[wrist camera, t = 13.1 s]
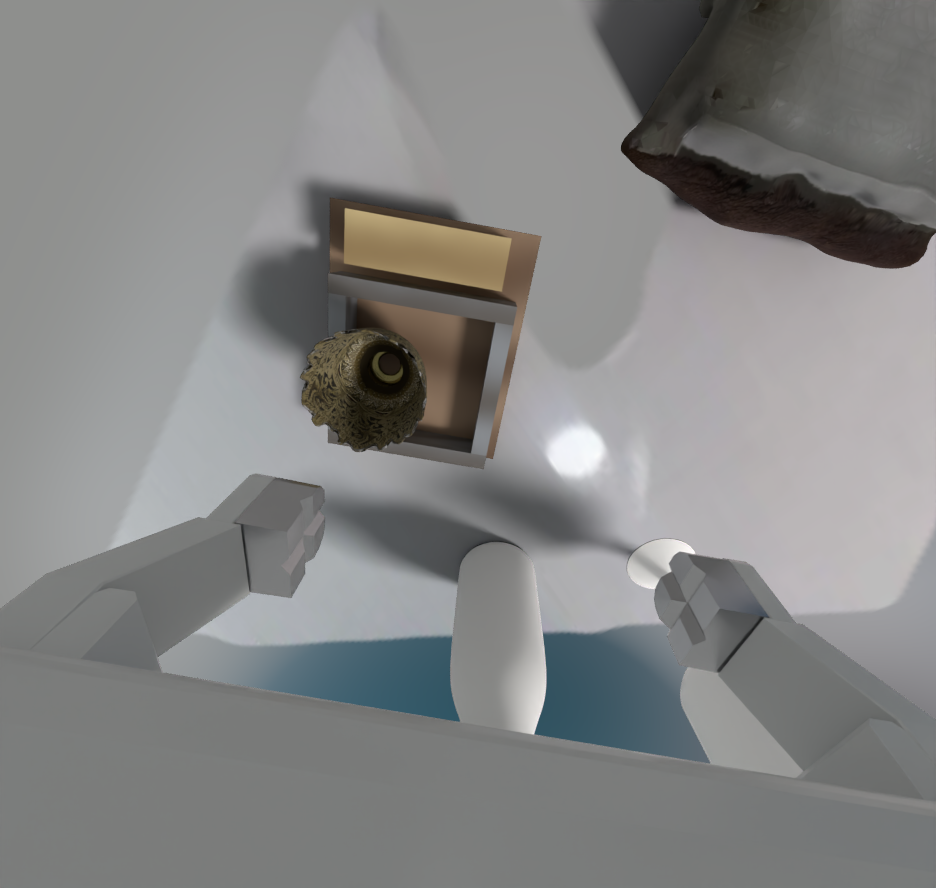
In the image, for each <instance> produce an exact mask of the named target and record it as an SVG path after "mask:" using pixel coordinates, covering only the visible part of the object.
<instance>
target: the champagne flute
mask: <svg viewBox="0 0 936 888" xmlns="http://www.w3.org/2000/svg"><path fill="white" fill-rule="evenodd" d="M679 551H680V552H686V553H692V554H695V552H694V550H693V549H692V548H691V547H690V546H689V545H688V544H686V543H684V542H682V541H679V540H676V539H659V540H654V541H651V542H648V543H646V544H644V545H642V546H641V547H639V548H638V549H637V550H636V551H635V552H634V553H633V554H632V555H631V557H630V558H629V561H628V564H627V571H628V575H629V577H630V578H631V579H632V580H633V582H635V583H636V584H638V585H640V586H642V587H645V588H650V589H655V588H656V586H657V584H658V582H659V580H660V578H661V577H662V576H664V575H666V574H668V573H669V572H671V569H670V566H669V562H670V561H671V559H672V557H673V556H674V555H675V554H676V553H678V552H679ZM718 674H719V673H715V672H710V671H705V670H700V669H695V668H690V667H688V668H687V669H686V672H685V673H684V676H683V680H682V684H681V691H680V698H681V704H682V707H683V710H684V711H685V713H686V715H687V717H688V719H689V721H690V723H691V725H692V727H693V729H694V731H695V733H696V735H697V737H698V739H699V741H700V743H701V745H702V747H703V749H704V751H705V753H706V755H707V756H708V759H709V761H710V763H711V764H714V765H720V766H726V767H732V768H738V769H744V770H750V771H756V772H762V773H768V774H774V775H780V776H786V777H792V778H796V777H797V776H799V775H800V774H801V773H802V772H804V771H803V770H802V769H801V768H800V767H799V766H798V765H797V764H796V762H795V761H794V760H793V759H792V758H791V757H790V756H789V755H788V753H787V752H786V751H785V750H784V749H783V748H782V747H781V746H780V744H779V743H778V742H777V741H776V740H775V739H774V738H773V737H772V735H771V734H770V733H769V732H768V731H767V730H766V729H765V728H764V726H763V725H762V724H761V723H760V722H759V721H758V720H757V719H756V718H755V716H754V715H753V714H752V713H751V712H750V711H749V710H748V709H747V707H746V706H745V705H744V704H743V703H742V702H741V701H740V700H739V698H738V697H737V696H736V695H735V694H734V693H733V692H732V691H731V689H730V688H729V687H728V686H727V685H726V684H725V683H724V682H723V680H722V679H721V678H720V677H719V676H718Z"/></svg>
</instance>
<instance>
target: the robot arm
mask: <svg viewBox="0 0 936 888" xmlns="http://www.w3.org/2000/svg"><path fill="white" fill-rule="evenodd" d="M324 502H325V492H324V489H323V488H322V486H317V485H312V484H307V483H302V482H297V481H293V480H288V479H283V478H276V477H272V476H266V475H261V474H253V475H250V476H249V477H248V478H247V479H246V480H245V481H244V482H242V483H241V484H240V485H239V486H238V487H237V488H236V489H235V490H234V491H233V492H232V493H231V494H230V495H229V496H228V497H227V498H226V499H225V500H224V501H223V502H222V503H221V504H220V505H219V506H218V507H217V508H216V509H215V510H214V511H213V512H212V513H211V514H210V515H209V516H208V517H207V518H200V517H198V518H195V519H192V520H190V521H187V522H184V523H182V524H179V525H176V526H174V527H171V528H168V529H165V530H163V531H160V532H157V533H155V534H152V535H149V536H147V537H144V538H141V539H139V540H136V541H133V542H130V543H128V544H125V545H122V546H120V547H117V548H114V549H112V550H109V551H106V552H104V553H101V554H98V555H96V556H93V557H90V558H88V559H85V560H82V561H79V562H77V563H74V564H71V565H69V566H66V567H63V568H60V569H58V570H55V571H53V572H50V573H47V574H45V575H44V576H43V577H41V578H40V579H39V580H37V581H36V582H35V583H33V584H32V585H31V586H29V587H28V588H27V589H25V590H24V591H23V592H21V593H20V594H19V595H17V596H16V597H15V598H14V599H12V600H11V601H9V602H8V603H7V604H6V605H4V606H3V607H2V608H0V888H936V719H935V718H933V717H932V716H930V715H929V714H928V713H926V712H925V711H923V710H922V709H920V708H919V707H918V706H916V705H915V704H914V703H912V702H911V701H909V700H908V699H907V698H905V697H904V696H902V695H901V694H900V693H898V692H897V691H895V690H894V689H893V688H891V687H890V686H888V685H887V684H886V683H884V682H883V681H881V680H880V679H878V678H877V677H876V676H875V675H873V674H872V673H870V672H869V671H868V670H866V669H865V668H863V667H862V666H861V665H859V664H858V663H856V662H855V661H854V660H852V659H851V658H849V657H848V656H847V655H845V654H844V653H842V652H841V651H840V650H838V649H837V648H835V647H834V646H833V645H831V644H830V643H828V642H827V641H826V640H824V639H823V638H822V637H820V636H819V635H817V634H816V633H815V632H813V631H812V630H810V629H809V628H808V627H806V626H805V625H803V624H797V623H796V622H795V621H794V620H793V618H792V617H791V616H790V614H789V613H788V612H787V610H786V609H785V608H784V607H783V605H782V604H781V603H780V601H779V600H778V599H777V597H776V596H775V595H774V593H773V592H772V591H771V590H770V588H769V587H768V586H767V584H766V583H765V582H764V580H763V579H762V578H761V577H760V575H759V574H758V573H757V571H756V570H755V569H754V567H753V566H751V565H750V564H748V563H747V562H743V561H737V560H730V559H724V558H723V559H720V558H714V557H709V556H703V555H697V554H692V553H686V552H680V551H679V552H678V553H676V554H675V555H674V556H673V557H672V559H671V561H670V562H669V566H670V569H671V572H669V573H668V574H666V575H664V576H662V577H661V578H660V580H659V582H658V584H657V586H656V588H655V596H654V602H655V608H656V611H657V614H658V616H659V619H660V620H661V621H662V622H663V623H664V624H665V625H666V626H667V627H669V628H670V630H669V633H668V635H667V638H668V640H669V643H670V645H671V647H672V650H673V652H674V654H675V656H676V659H677V661H678V664H679V665H681V666H685V667H690V668H695V669H700V670H705V671H710V672H715V673H719V674H718V676H719V677H720V678H721V679H722V680H723V682H724V683H725V684H726V685H727V686H728V687H729V688H730V689H731V691H732V692H733V693H734V694H735V695H736V696H737V697H738V698H739V700H740V701H741V702H742V703H743V704H744V705H745V706H746V707H747V709H748V710H749V711H750V712H751V713H752V714H753V715H754V716H755V718H756V719H757V720H758V721H759V722H760V723H761V724H762V725H763V726H764V728H765V729H766V730H767V731H768V732H769V733H770V734H771V735H772V737H773V738H774V739H775V740H776V741H777V742H778V743H779V744H780V746H781V747H782V748H783V749H784V750H785V751H786V752H787V753H788V755H789V756H790V757H791V758H792V759H793V760H794V761H795V762H796V764H797V765H798V766H799V767H800V768H801V769H802V770H803V771H804V772H802V773H801V774H800V775H799V776H797V777H796V778H792V777H786V776H780V775H774V774H768V773H762V772H756V771H750V770H744V769H738V768H732V767H726V766H720V765H714V764H708V763H702V762H696V761H690V760H684V759H678V758H671V757H666V756H660V755H654V754H648V753H642V752H636V751H630V750H624V749H618V748H612V747H606V746H599V745H593V744H588V743H581V742H575V741H569V740H563V739H557V738H551V737H545V736H539V735H533V734H527V733H521V732H515V731H510V730H504V729H498V728H492V727H486V726H480V725H474V724H468V723H462V722H455V721H450V720H443V719H438V718H431V717H426V716H420V715H413V714H407V713H401V712H396V711H390V710H384V709H377V708H372V707H365V706H360V705H353V704H348V703H342V702H336V701H330V700H324V699H318V698H312V697H306V696H300V695H294V694H288V693H282V692H276V691H270V690H264V689H257V688H252V687H246V686H240V685H234V684H228V683H222V682H216V681H210V680H204V679H198V678H192V677H185V676H180V675H174V674H168V673H163V671H162V668H161V666H160V663H159V660H158V657H159V656H160V655H162V654H163V653H165V652H166V651H168V650H169V649H170V648H172V647H173V646H175V645H176V644H178V643H179V642H181V641H182V640H184V639H185V638H187V637H188V636H190V635H191V634H192V633H194V632H195V631H197V630H198V629H200V628H201V627H203V626H204V625H206V624H207V623H209V622H210V621H212V620H213V619H214V618H216V617H217V616H219V615H220V614H222V613H223V612H225V611H226V610H228V609H229V608H231V607H232V606H234V605H235V604H236V603H238V602H239V601H241V600H242V599H244V598H245V597H247V596H248V595H250V592H253V593H260V594H267V595H274V596H281V597H288V598H292V596H293V594H294V592H295V591H296V589H297V587H298V585H299V583H300V582H301V580H302V578H303V576H304V575H305V563H306V562H308V561H309V560H311V559H313V558H314V557H315V555H316V553H317V551H318V549H319V547H320V544H321V541H322V538H323V534H324V528H325V517H324V515H323V514H322V513H321V511H320V509H321V507H322V506H323V504H324Z"/></svg>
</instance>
